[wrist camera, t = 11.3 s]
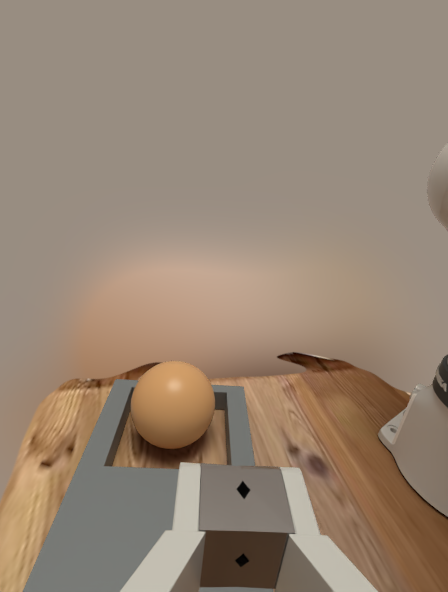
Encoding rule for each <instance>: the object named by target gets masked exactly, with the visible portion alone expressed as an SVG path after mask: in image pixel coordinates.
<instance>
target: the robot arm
mask: <svg viewBox="0 0 448 592" xmlns="http://www.w3.org/2000/svg"><path fill="white" fill-rule="evenodd" d="M427 186H428V187H427V194H428V201H429V205H430V207H431V210H432V212H433V214H434V216H435V217H436V218H437V220H438V221H439V222H440V223H441V224H442V225H443V226H444V227H445V228H446V229H447V231H448V143H447V144H446V145H445V146H444V148H443V149H442V150H441V152H440V153H439V155H438V156H437V158H436V160H435V161H434V164H433V166H432V168H431V171H430V174H429V179H428V185H427ZM378 437H379V439H380V440H381V441H382V443H383V444H384V445H385V446H386V447H387V448H388V449H389V450H390V451H391V453H392V454H393V456H394V458H395V460H396V463H397V465H398V467H399V469H400V471H401V472H402V474H403V476H404V477H405V478H406V480H407V481H408V482H409V484H410V485H411V486H412V487H413V488H414V489H415V490H416V491H417V492H418V493H419V494H420V495H421V496H422V497H423V498H424V499H425V500H426V501H427V502H428V503H430V504H431V505H432V506H433V507H435V508H436V509H437V510H439V511H440V512H441V513H443V514H444V515H446V516H447V517H448V355H446V356H445V357H444V358H443V360H442V362H441V363H440V365H439V366H438V368H437V370H436V375H435V378H434V380H433V384H431V385H430V386H428V387H426V386H424V385H422V384H418V385H417V386H416V388H415V389H414V391H413V392H412V394H411V396H410V401H409V404H408V406H407V408H405V409H404V410H403V411H402V412H400V413H399V414H398V415H397V416H395V417H394V418H393V419H392V420H391V421H389V422H388V423H387V424H386V425H384V426H383V427H382V428H381V429H380V431H379V433H378ZM200 587H246V588H265V589H275V592H378V591H377V590H376V589H375V588H374V587H373V585H372V584H371V583H370V582H369V581H368V580H367V579H366V578H365V577H364V576H363V574H362V573H361V572H360V571H359V570H358V569H357V568H356V567H355V566H354V564H353V563H352V562H351V561H350V560H349V559H348V558H347V557H346V556H345V555H344V553H343V552H342V551H341V550H340V549H339V548H338V547H337V546H336V545H335V543H334V542H333V541H332V540H331V539H330V538H329V537H328V536H327V535H321V534H320V531H319V528H318V524H317V521H316V518H315V514H314V511H313V508H312V504H311V501H310V498H309V495H308V491H307V488H306V485H305V481H304V478H303V475H302V472H301V470H300V469H299V468H290V467H279V468H278V467H271V466H231V465H217V464H204V463H201V465H200V463H185V462H180V466H179V473H178V482H177V491H176V500H175V509H174V518H173V527H172V530H165V532H164V533H163V534H162V536H161V537H160V538H159V540H158V541H157V542H156V544H155V545H154V546H153V548H152V549H151V550H150V552H149V553H148V554H147V556H146V557H145V558H144V560H143V561H142V562H141V564H140V565H139V567H138V568H137V569H136V571H135V572H134V573H133V575H132V576H131V577H130V579H129V580H128V581H127V583H126V584H125V585H124V587H123V588H122V589H121V591H120V592H199V588H200Z"/></svg>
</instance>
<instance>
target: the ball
mask: <svg viewBox="0 0 448 592" xmlns="http://www.w3.org/2000/svg"><path fill="white" fill-rule="evenodd" d="M214 410H215V396H214V391H213V388H212V386H211V383H210V381H209V380H208V378H207V377H206V376H205V374H204V373H203V372H202V371H201V370H199V369H198V368H197V367H195V366H193V365H191V364H189V363H186V362H181V361H169V362H164V363H161V364H158V365H156V366H154V367H153V368H151V369H150V370H148V371H147V372H146V373H145V374H144V375H143V376H142V377H141V378H140V380H139V381H138V383H137V385H136V386H135V389H134V391H133V394H132V398H131V416H132V420H133V423H134V425H135V427H136V429H137V431H138V432H139V434H140V435H141V436H142V437H143V438H144V439H145V440H146V441H148V442H149V443H151V444H152V445H155V446H157V447H160V448H164V449H177V448H182V447H185V446H187V445H190V444H192V443H193V442H195V441H196V440H197V439H199V438H200V437H201V436H202V435H203V434H204V432H205V431H206V430H207V428H208V427H209V425H210V423H211V421H212V418H213V415H214Z"/></svg>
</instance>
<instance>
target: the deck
mask: <svg viewBox="0 0 448 592" xmlns="http://www.w3.org/2000/svg"><path fill="white" fill-rule="evenodd" d="M137 383H138V381H137V380H120V379H116V380H115V382H114V385H113V387H112V389H111V391H110V394H109V396H108V398H107V401H106V403H105V405H104V407H103V410H102V412H101V414H100V417H99V419H98V421H97V423H96V426H95V428H94V430H93V433H92V435H91V437H90V439H89V442H88V444H87V446H86V448H85V451H84V453H83V455H82V458H81V460H80V462H79V464H78V467H77V469H76V471H75V474H74V476H73V478H72V480H71V483H70V485H69V487H68V490H67V492H66V494H65V496H64V499H63V501H62V503H61V506H60V508H59V510H58V512H57V515H56V517H55V519H54V521H53V524H52V526H51V528H50V531H49V533H48V535H47V537H46V540H45V542H44V544H43V547H42V549H41V551H40V553H39V556H38V558H37V560H36V563H35V565H34V567H33V569H32V572H31V574H30V576H29V579H28V581H27V583H26V585H25V588H24V590H23V592H120V591H121V589H122V588H123V587H124V585H125V584H126V583H127V581H128V580H129V579H130V577H131V576H132V575H133V573H134V572H135V571H136V569H137V568H138V567H139V565H140V564H141V562H142V561H143V560H144V558H145V557H146V556H147V554H148V553H149V552H150V550H151V549H152V548H153V546H154V545H155V544H156V542H157V541H158V540H159V538H160V537H161V536H162V534H163V533H164V532H165V530H172V527H173V518H174V509H175V500H176V491H177V482H178V473H179V469H160V468H135V467H112V464H113V461H114V458H115V455H116V451H117V448H118V445H119V442H120V439H121V436H122V433H123V430H124V427H125V424H126V421H127V418H128V415H129V412H130V409H131V398H132V394H133V391H134V389H135V386H136V385H137ZM211 386H212V388H213V391H214V396H215V409H221V410H225V427H226V445H227V463H228V465H231V466H255V462H254V455H253V448H252V441H251V434H250V428H249V421H248V414H247V407H246V400H245V393H244V387H240V386H223V385H211ZM199 592H273V589H265V588H246V587H200V588H199Z"/></svg>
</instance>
